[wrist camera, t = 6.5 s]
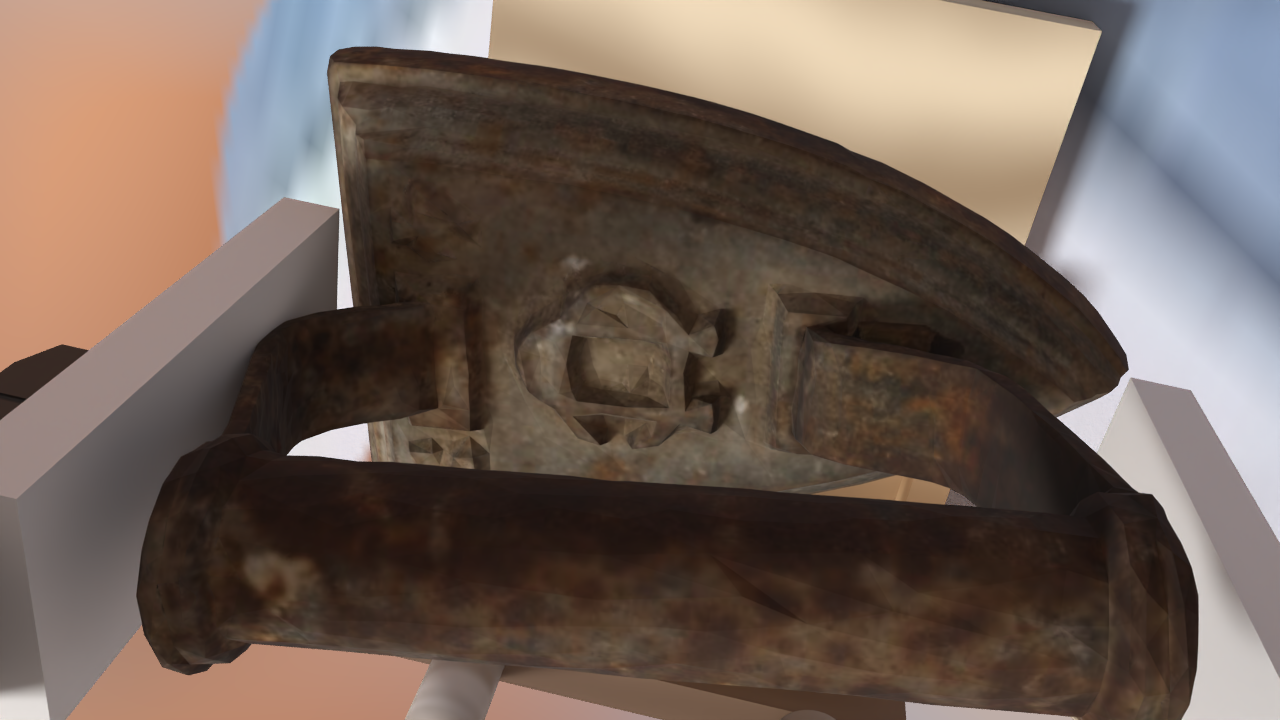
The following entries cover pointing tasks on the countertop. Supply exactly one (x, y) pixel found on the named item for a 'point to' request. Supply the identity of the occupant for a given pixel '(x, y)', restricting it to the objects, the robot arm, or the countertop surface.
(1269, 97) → the countertop surface
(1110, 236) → the countertop surface
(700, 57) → the cradle
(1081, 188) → the countertop surface
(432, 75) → the clothes iron
